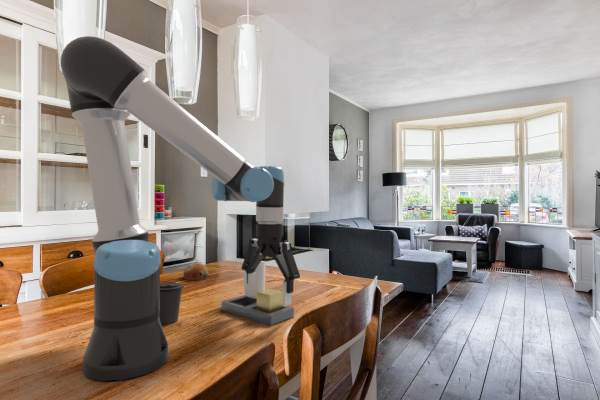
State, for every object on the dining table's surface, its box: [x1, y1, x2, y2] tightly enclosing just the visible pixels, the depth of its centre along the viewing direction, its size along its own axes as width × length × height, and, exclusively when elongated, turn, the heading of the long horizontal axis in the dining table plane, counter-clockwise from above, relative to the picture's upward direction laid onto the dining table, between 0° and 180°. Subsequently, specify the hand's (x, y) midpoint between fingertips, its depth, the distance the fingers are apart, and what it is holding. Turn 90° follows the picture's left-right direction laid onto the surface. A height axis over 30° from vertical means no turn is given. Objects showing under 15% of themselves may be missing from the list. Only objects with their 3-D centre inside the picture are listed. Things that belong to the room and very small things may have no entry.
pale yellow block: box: [257, 288, 283, 313], centre depth 99 cm, size 5×5×7 cm
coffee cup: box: [160, 281, 184, 326], centre depth 95 cm, size 8×8×10 cm
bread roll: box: [183, 262, 210, 281], centre depth 147 cm, size 10×10×8 cm
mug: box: [243, 261, 266, 298], centre depth 116 cm, size 10×7×12 cm, turn 157°
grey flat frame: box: [221, 295, 295, 326], centre depth 102 cm, size 9×20×2 cm, turn 51°
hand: (268, 300), depth 99 cm, fingers open, 13 cm apart
